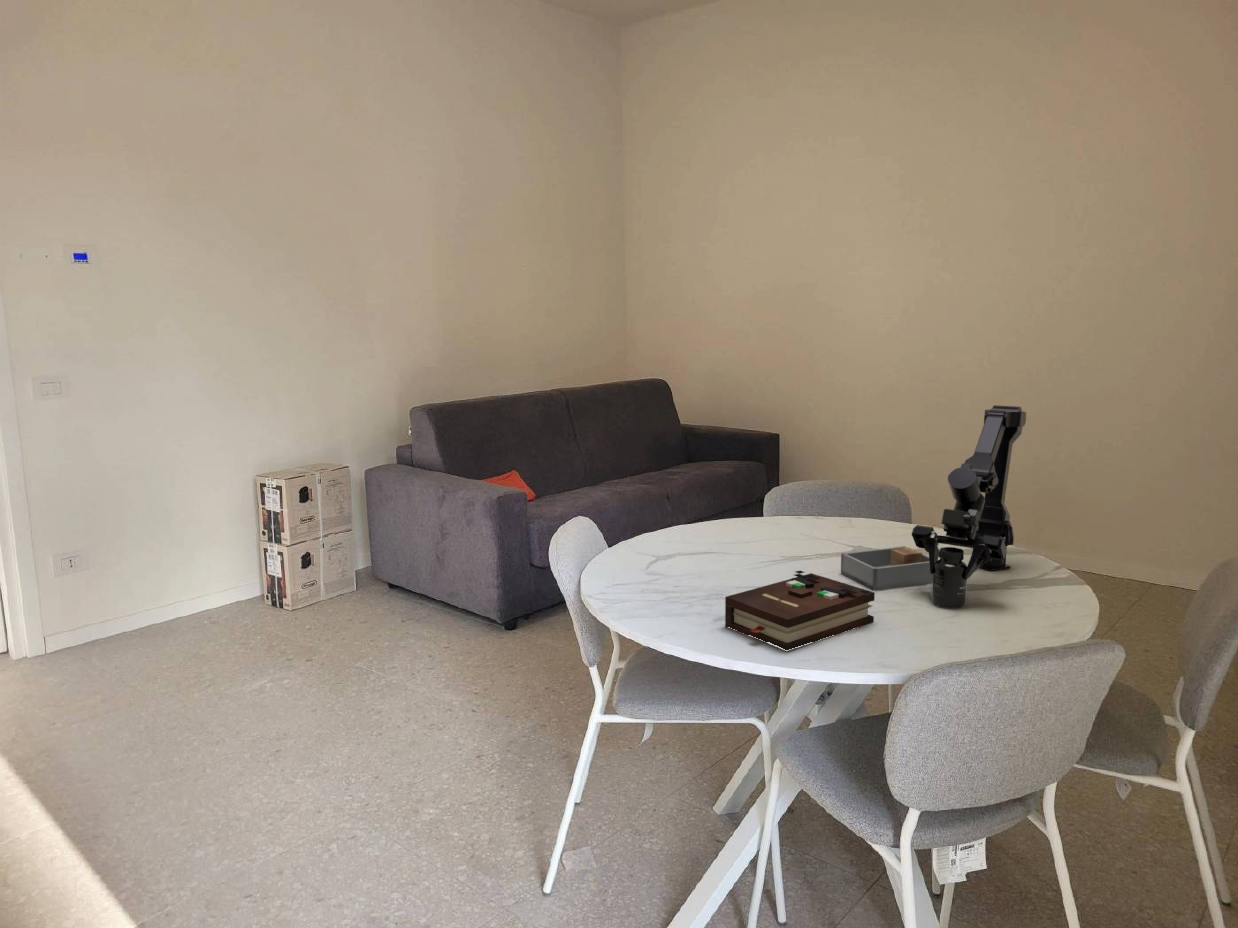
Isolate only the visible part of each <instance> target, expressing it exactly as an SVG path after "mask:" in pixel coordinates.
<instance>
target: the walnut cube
mask: <svg viewBox="0 0 1238 928" xmlns="http://www.w3.org/2000/svg"><path fill="white" fill-rule="evenodd" d="M907 547H908V546H907ZM922 554H923V552H921V551H919V550H916V549H914V548H911V547H908V548H899V549H891V562H890V566H895V565H903V564H911V563H919V562H922Z"/></svg>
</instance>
